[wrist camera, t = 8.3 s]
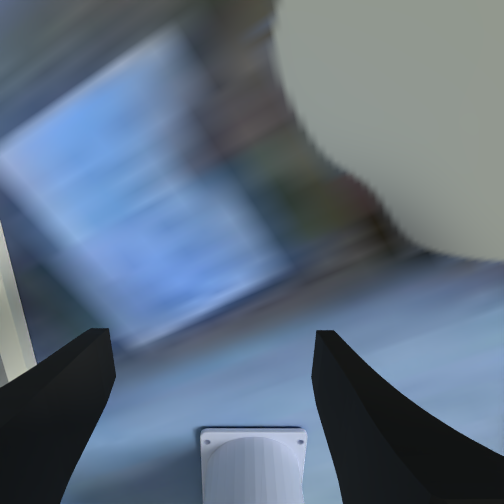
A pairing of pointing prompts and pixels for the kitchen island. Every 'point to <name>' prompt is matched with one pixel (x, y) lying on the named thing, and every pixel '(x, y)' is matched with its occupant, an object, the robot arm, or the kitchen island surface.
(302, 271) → the kitchen island surface
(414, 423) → the robot arm
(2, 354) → the coupling stand
